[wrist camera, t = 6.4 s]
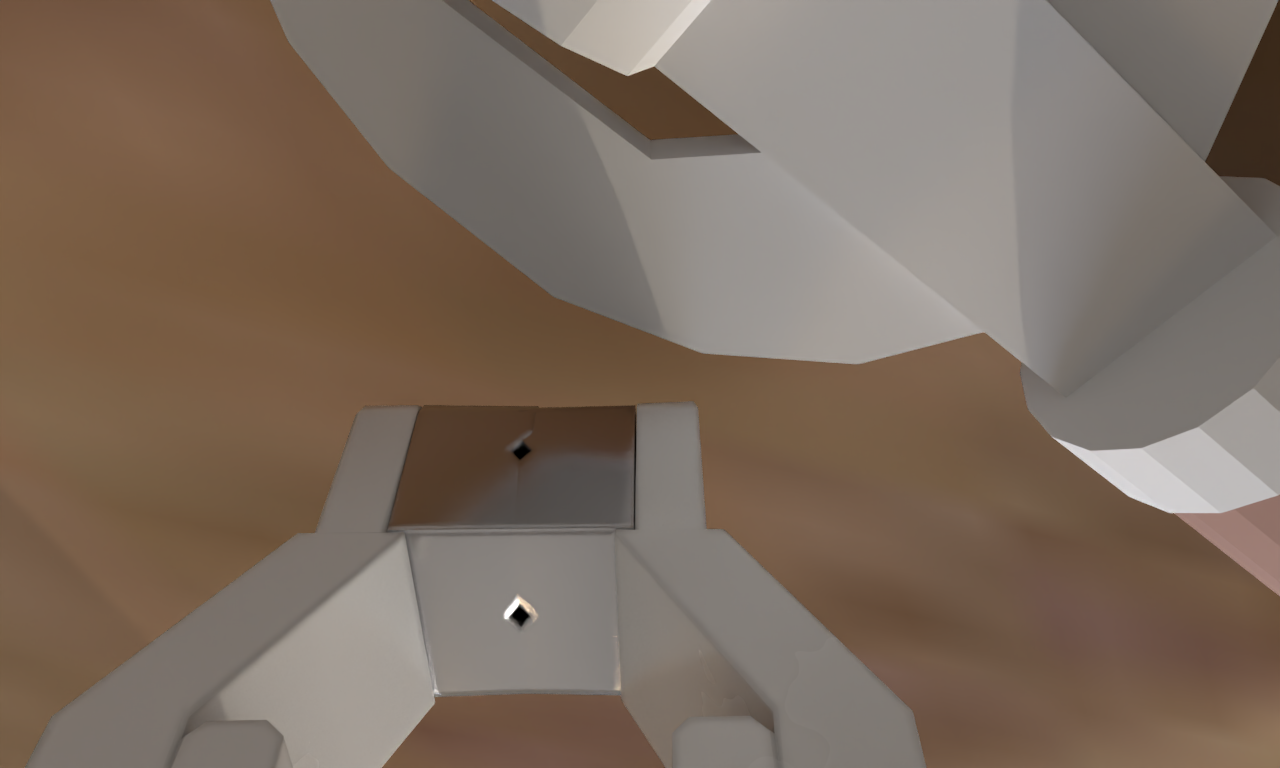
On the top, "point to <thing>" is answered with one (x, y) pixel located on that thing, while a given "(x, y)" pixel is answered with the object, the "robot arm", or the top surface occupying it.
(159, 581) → the top surface
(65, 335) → the top surface
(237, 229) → the top surface
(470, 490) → the robot arm
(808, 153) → the pizza cutter
